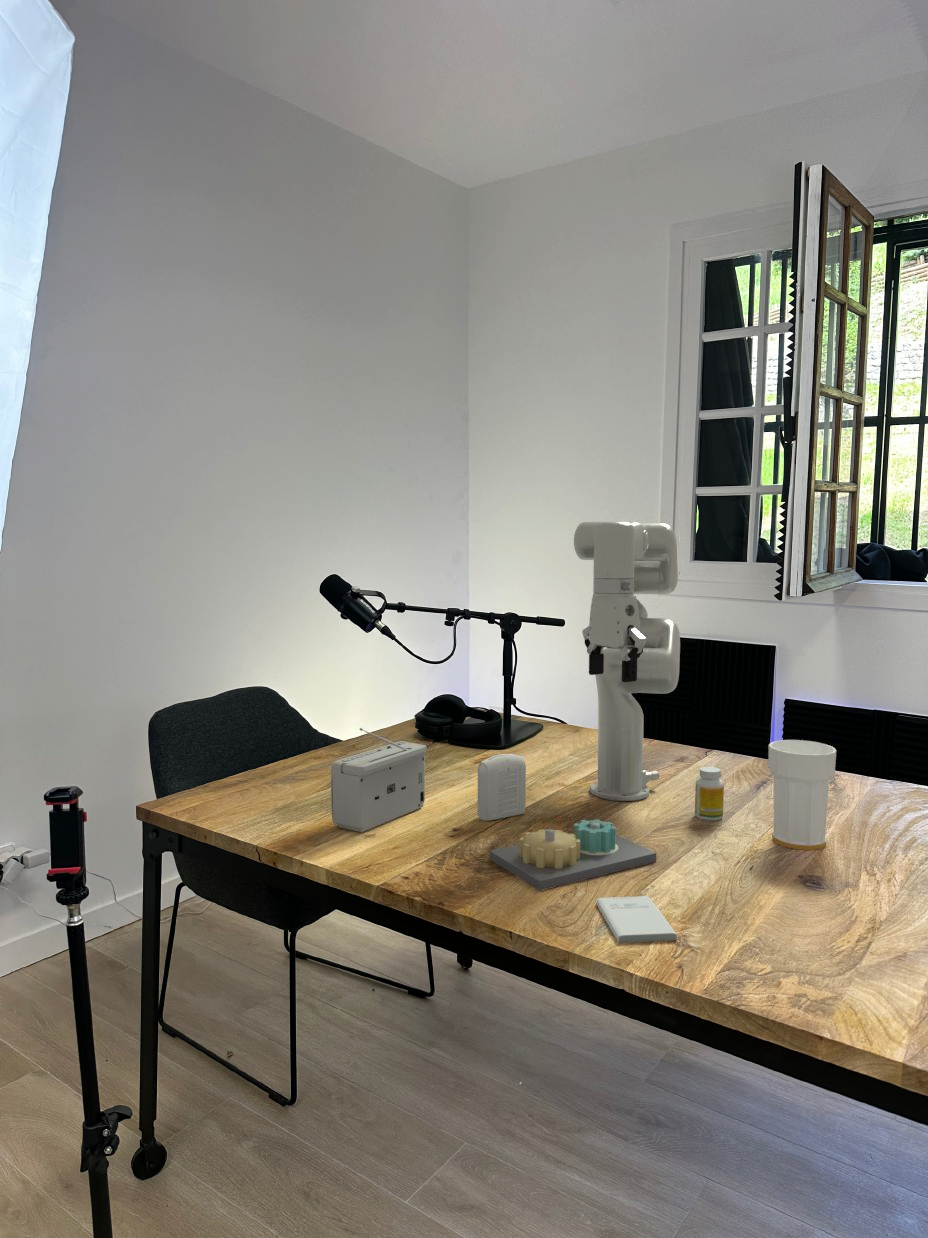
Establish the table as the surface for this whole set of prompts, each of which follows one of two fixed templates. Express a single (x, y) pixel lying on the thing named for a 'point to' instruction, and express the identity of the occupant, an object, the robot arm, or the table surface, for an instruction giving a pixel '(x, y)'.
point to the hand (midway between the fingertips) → (612, 677)
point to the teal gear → (595, 836)
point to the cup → (801, 792)
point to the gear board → (577, 870)
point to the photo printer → (501, 787)
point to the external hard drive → (635, 919)
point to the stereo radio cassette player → (378, 785)
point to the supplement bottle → (709, 794)
